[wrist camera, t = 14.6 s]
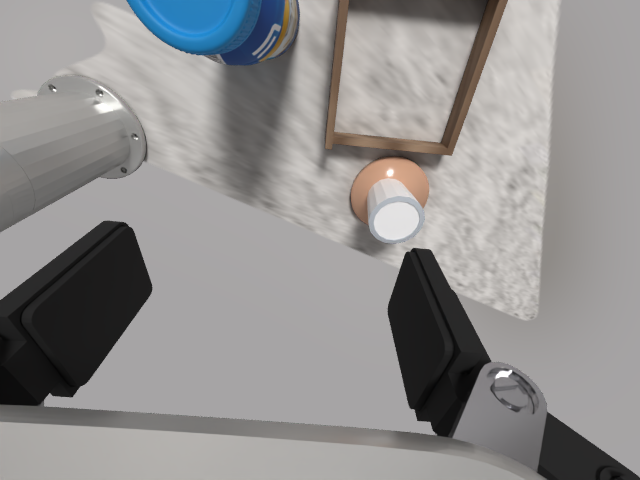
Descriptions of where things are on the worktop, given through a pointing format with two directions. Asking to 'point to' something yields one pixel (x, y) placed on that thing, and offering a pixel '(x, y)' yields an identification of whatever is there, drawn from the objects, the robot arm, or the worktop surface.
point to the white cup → (393, 212)
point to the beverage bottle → (223, 27)
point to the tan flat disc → (385, 169)
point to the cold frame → (461, 104)
